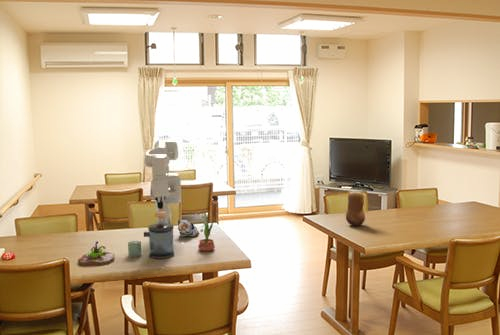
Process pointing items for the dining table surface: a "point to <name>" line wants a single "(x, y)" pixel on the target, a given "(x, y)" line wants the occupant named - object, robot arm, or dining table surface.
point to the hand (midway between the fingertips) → (160, 208)
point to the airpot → (160, 241)
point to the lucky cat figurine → (187, 228)
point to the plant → (96, 257)
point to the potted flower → (206, 235)
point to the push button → (160, 216)
